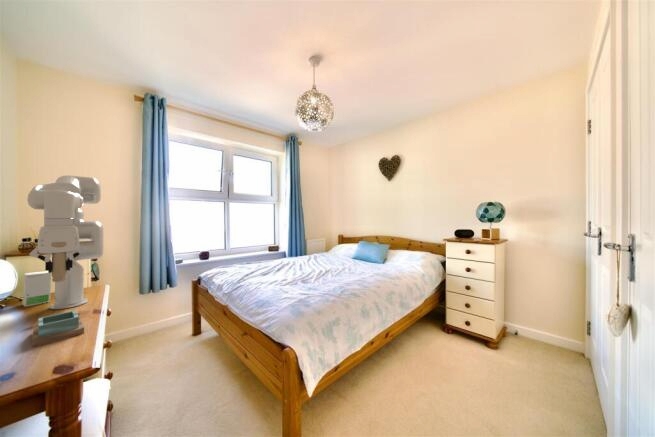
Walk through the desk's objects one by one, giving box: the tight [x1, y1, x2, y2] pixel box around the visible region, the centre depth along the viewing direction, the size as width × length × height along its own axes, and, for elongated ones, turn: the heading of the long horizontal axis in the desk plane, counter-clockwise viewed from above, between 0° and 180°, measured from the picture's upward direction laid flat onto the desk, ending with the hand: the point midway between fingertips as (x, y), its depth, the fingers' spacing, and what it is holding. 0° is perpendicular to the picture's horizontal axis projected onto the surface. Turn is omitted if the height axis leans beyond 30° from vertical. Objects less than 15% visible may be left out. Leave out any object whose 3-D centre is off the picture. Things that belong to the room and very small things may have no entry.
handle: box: [51, 242, 67, 283], centre depth 86 cm, size 5×6×15 cm
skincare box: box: [22, 270, 52, 308], centre depth 115 cm, size 8×7×16 cm
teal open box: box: [32, 309, 85, 348], centre depth 86 cm, size 14×12×6 cm
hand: (59, 270), depth 86 cm, fingers closed on handle, 3 cm apart
